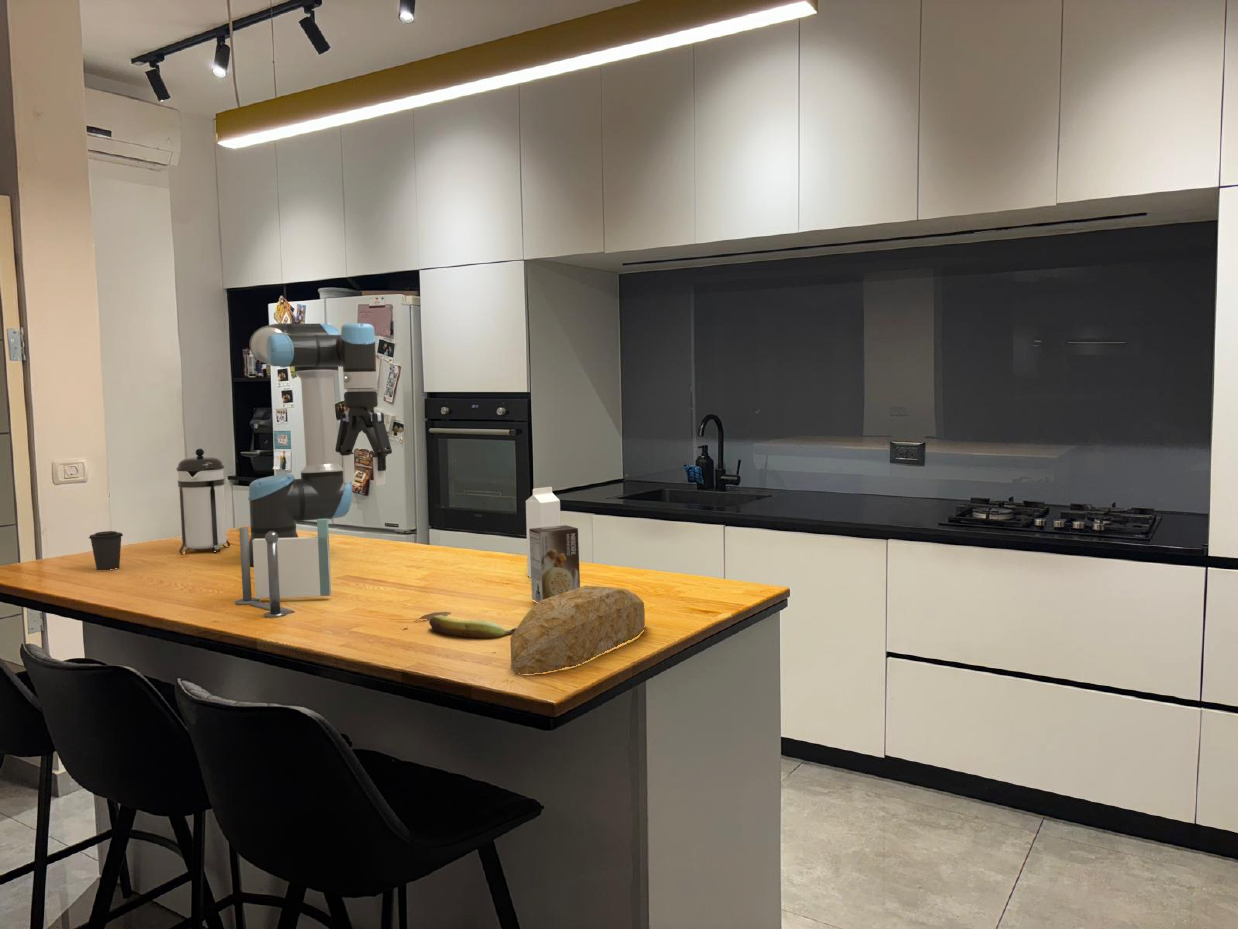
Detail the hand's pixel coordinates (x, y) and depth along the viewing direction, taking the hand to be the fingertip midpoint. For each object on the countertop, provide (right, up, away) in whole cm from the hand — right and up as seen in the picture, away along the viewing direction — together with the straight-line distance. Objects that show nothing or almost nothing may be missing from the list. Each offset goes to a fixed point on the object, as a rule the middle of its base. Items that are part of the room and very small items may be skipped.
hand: (364, 483), depth 223 cm
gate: (-14, -25, -12) cm, 31 cm away
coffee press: (-62, -21, +57) cm, 86 cm away
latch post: (-12, -27, -25) cm, 39 cm away
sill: (-17, -26, -17) cm, 36 cm away
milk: (+42, -23, +9) cm, 48 cm away
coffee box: (+46, -25, -17) cm, 55 cm away
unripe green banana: (+31, -28, -42) cm, 60 cm away
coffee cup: (-76, -23, +29) cm, 85 cm away
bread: (+54, -29, -53) cm, 81 cm away
